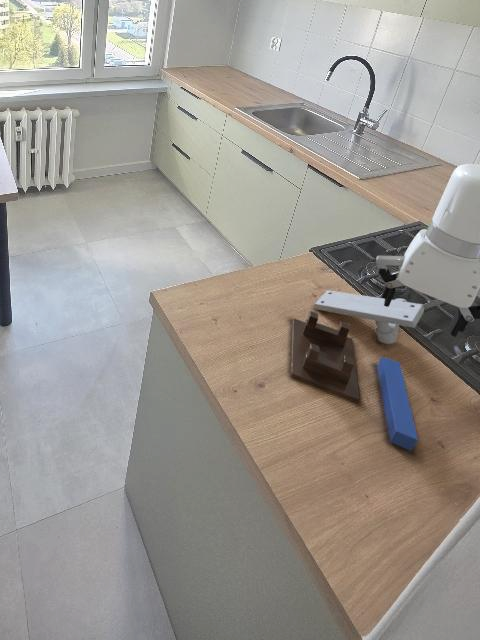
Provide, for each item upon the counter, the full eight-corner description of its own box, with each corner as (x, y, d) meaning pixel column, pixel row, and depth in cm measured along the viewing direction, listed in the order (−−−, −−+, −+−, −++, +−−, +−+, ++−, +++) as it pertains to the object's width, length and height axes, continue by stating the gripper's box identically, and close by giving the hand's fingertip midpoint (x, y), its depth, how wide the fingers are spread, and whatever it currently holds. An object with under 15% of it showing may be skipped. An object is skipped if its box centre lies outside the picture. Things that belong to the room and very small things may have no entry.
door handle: (324, 335, 100) (424, 359, 84) (314, 303, 100) (412, 321, 84) (353, 299, 111) (447, 313, 94) (344, 270, 110) (437, 280, 94)
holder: (350, 341, 92) (359, 320, 89) (358, 402, 80) (368, 379, 77) (292, 321, 97) (299, 300, 94) (290, 376, 84) (298, 353, 81)
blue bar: (394, 373, 86) (400, 362, 84) (411, 451, 72) (418, 440, 71) (376, 366, 87) (381, 356, 85) (390, 442, 73) (396, 431, 72)
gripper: (525, 250, 65) (480, 328, 72) (394, 207, 74) (365, 280, 81) (533, 276, 59) (482, 359, 66) (390, 227, 69) (359, 303, 76)
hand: (418, 315), depth 74 cm, fingers open, 9 cm apart
